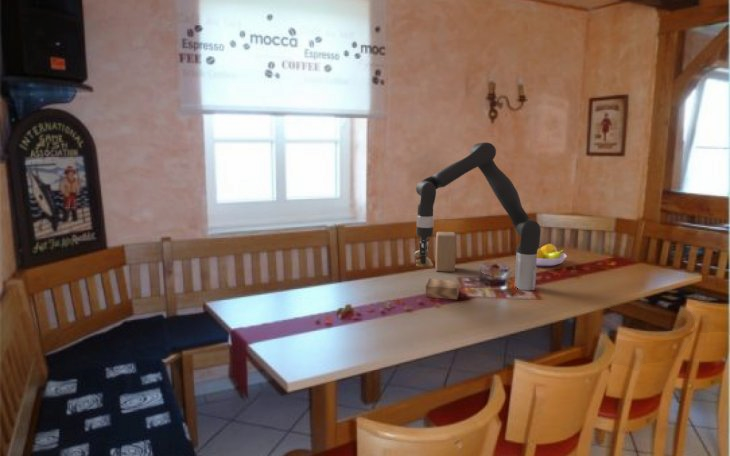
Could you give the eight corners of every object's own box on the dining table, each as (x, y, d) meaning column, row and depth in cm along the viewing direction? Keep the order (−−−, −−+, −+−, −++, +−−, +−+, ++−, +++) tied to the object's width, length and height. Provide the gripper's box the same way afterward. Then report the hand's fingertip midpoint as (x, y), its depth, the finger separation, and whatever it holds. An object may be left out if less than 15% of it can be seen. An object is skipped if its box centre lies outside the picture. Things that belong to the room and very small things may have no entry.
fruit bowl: (509, 258, 308) (510, 239, 306) (553, 257, 311) (554, 239, 309) (529, 271, 281) (530, 250, 279) (577, 270, 284) (578, 249, 282)
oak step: (458, 291, 244) (459, 280, 243) (457, 299, 232) (457, 287, 231) (428, 289, 247) (429, 278, 246) (425, 296, 236) (425, 285, 235)
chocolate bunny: (419, 263, 244) (419, 242, 242) (434, 266, 240) (434, 244, 238) (413, 266, 240) (413, 244, 238) (428, 268, 235) (428, 246, 233)
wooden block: (453, 267, 287) (455, 231, 283) (454, 272, 277) (456, 235, 274) (435, 266, 288) (436, 231, 284) (435, 271, 278) (437, 234, 274)
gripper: (431, 228, 229) (430, 266, 232) (435, 223, 242) (433, 259, 245) (414, 227, 230) (413, 265, 233) (418, 222, 244) (418, 258, 247)
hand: (423, 262), depth 239 cm, fingers closed on chocolate bunny, 4 cm apart
